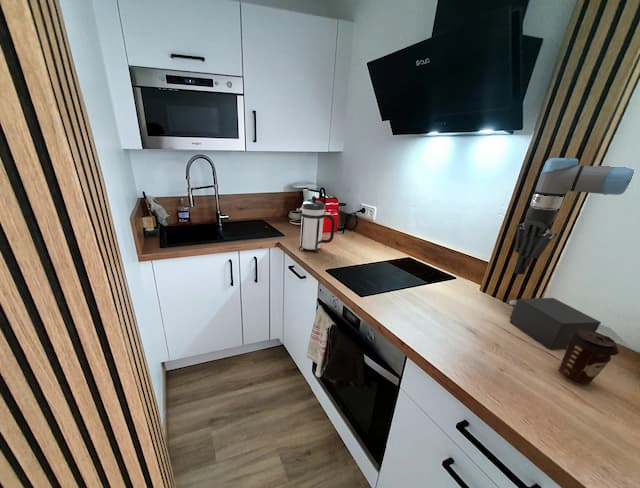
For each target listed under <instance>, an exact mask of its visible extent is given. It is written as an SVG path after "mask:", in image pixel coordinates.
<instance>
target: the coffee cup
mask: <svg viewBox="0 0 640 488" xmlns="http://www.w3.org/2000/svg"><path fill="white" fill-rule="evenodd" d="M570 339H571V340H570V341H569V344H568V346H567V349H565V352H564V354H563V357H562V359H561V362H560V364H559V367H558V369H557V373H558V374H559V375H560V376H561V377H562V378H564V379H565V380H567V381H568V382H570V383H573V384H576V385H579V386H589V385H590V384H591V383H592V382H593V381H594V379H595V378H597V376H599V374H600V373H601V372H602V371H603V370H604V369H605V368H606V366H607V365H608V364H609V362H610V361H611V360H612V356H613V357H615V356H617V355H618V354H619V353H620V351H619V347H618V346H617V343H616V342H615V341H616V340H615V339H613V338H611V337H610V336H608V335H604V334H603V333H599V332H597V331H596V332H594V331H591V330H578V331H577V332H576V333H573V334H571V335H570Z"/></svg>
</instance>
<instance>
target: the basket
mask: <svg viewBox="0 0 640 488" xmlns="http://www.w3.org/2000/svg"><path fill="white" fill-rule="evenodd" d="M519 299H520V298H517V299H511V300H509V301H508V303H509V305H510V306H514V307H513V309H512V311H511V313H510V316H509V319H510V320H511V318H512V316H513V314H514V311H515V309H516V307H517V304H518V302H519Z"/></svg>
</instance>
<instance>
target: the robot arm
mask: <svg viewBox="0 0 640 488" xmlns="http://www.w3.org/2000/svg"><path fill="white" fill-rule="evenodd" d="M577 172H578V173H577ZM576 174H577V175H576ZM633 174H634V169H633V168H626V167H610V166H601V165H597V166H595V165H580V164H579V159H578V158H573V157H572V158H570V157H569V158H567V157H550V158H548V159H547V160H546V161H545V163H544V165H543V168H542V171H541V172H540V175H539V178H538V180H537V184H536V187H535V190H534V192H533V195H532V198H531V202H530V204H529V206H530V207H529V208H528V209H527V212H526V215H525V220H524V222H523V223H519V224H516V226H515V228H516V236H515V244H514V253H517V259H516V261H515V262H516V266H515V269H514V271H513V273H514V274H516V275H525V273H526V271H527V268H528V267H530V265H531V263H532V260H533V259H539V258H540V257H541V256H542V255H543V253H544V251H545V250H546V248H547V247H548V246H549V244H550V243H551V241H552V240H553V239H555V238H556V237H557V236H558V234H557V233H556V232H553V231H552V224H553V222H555V221H556V218H557V216H558V213H559V210H558V209H560V208H561V206H562V204H563V202H564V199H565V196H566V193H567V192H578V193H586V194H587V193H589V194H600V195H604V196H605V195H607V196H608V195H612V196H613V195H614V196H619V195H622V194H624V193H625V192H626V190H627V189H628V188H627V187H628V185H629V183H630V181H631V179H632V176H633ZM574 179H575V180H574ZM572 184H573V185H572ZM571 187H572V188H571ZM570 190H571V191H570ZM544 195H547V196H544ZM557 196H563V197H557Z"/></svg>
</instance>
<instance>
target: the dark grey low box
mask: <svg viewBox="0 0 640 488" xmlns="http://www.w3.org/2000/svg"><path fill="white" fill-rule="evenodd" d="M518 299H519V302H518V304H517V307H516V309H515V311H514V314H513V316H512V318H511V319H510V321H509V323H510V324H511V325H512V326H514V327H515V328H517V329H518V330H520V331H521V332H523V333H524V334H526V335H527V336H529V337H530V338H532V339H533V340H534V341H536V342H537V343H539V344H540V345H542V346H543V347H544V348H546V349H548V350H550V351H552V350H555V351H556V350H566V349H567V346H568V344H569V341H570V340H571V339H570V335H571V334H573V333H576V332H577V331H578V330H591V331H594V332H597V330H598V328H599V327H600V325H601V323H602V322H601V321H600V320H598V319H595V318H593V317H592V316H590V315H588V314H586V313H584V312H582V311H580V310H578V309H576V308H574V307H573V306H570V305H568V304H566V303H564V302H563V301H560V300H558V299H557V298H554V297H535V298H534V297H533V298H530V297H529V298H518Z"/></svg>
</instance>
